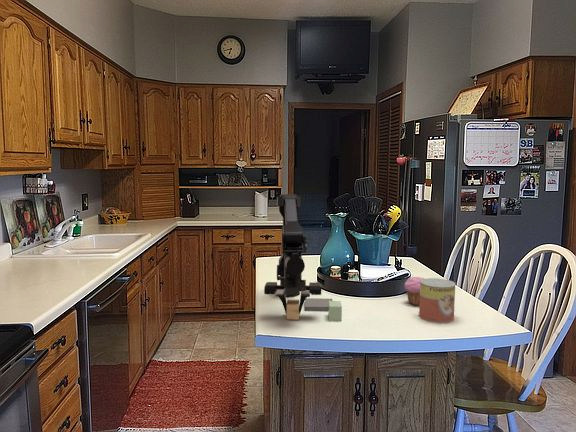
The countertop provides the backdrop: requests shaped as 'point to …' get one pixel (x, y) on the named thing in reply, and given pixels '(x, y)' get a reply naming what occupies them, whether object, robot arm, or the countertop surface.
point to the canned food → (437, 300)
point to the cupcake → (413, 289)
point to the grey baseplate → (317, 304)
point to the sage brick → (335, 311)
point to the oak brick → (293, 309)
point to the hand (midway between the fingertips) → (292, 313)
